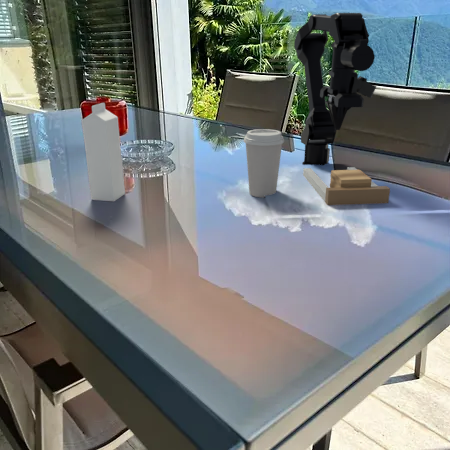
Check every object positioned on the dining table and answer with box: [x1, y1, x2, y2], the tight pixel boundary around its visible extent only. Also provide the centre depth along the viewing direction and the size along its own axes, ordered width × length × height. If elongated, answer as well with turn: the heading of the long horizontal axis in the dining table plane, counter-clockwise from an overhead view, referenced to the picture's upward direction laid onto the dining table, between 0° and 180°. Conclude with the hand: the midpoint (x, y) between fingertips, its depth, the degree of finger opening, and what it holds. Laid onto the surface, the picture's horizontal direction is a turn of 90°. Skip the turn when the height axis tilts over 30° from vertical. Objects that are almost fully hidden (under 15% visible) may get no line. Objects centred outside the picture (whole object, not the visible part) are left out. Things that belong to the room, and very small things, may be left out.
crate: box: [329, 169, 373, 188], centre depth 108 cm, size 8×7×5 cm
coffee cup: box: [243, 128, 285, 199], centre depth 110 cm, size 10×10×15 cm
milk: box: [81, 102, 126, 202], centre depth 107 cm, size 6×6×22 cm
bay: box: [302, 166, 391, 206], centre depth 114 cm, size 24×14×4 cm, turn 4°
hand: (337, 129), depth 122 cm, fingers closed
